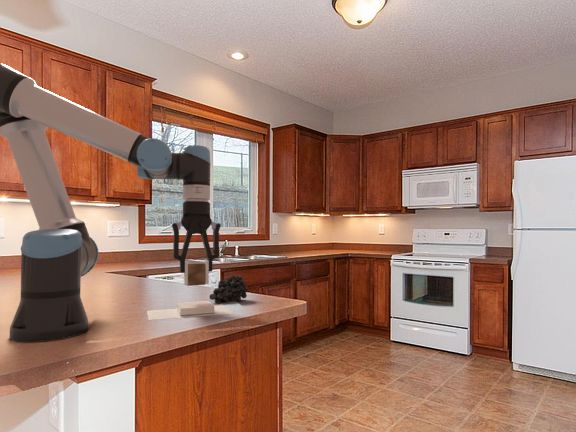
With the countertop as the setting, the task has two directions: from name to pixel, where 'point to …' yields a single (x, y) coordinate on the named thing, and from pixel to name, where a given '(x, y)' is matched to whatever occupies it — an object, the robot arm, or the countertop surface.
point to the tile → (195, 308)
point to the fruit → (230, 290)
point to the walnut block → (196, 273)
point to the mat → (175, 314)
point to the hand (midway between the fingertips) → (196, 283)
